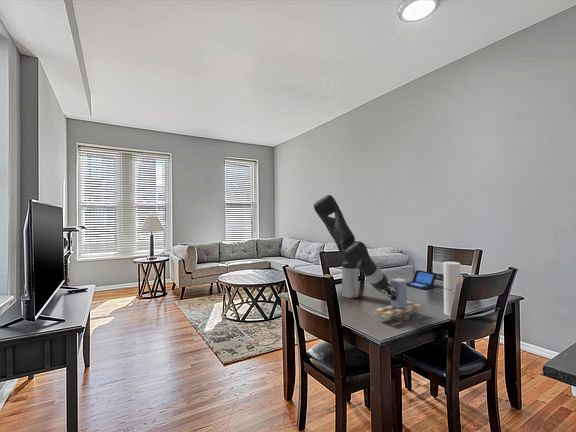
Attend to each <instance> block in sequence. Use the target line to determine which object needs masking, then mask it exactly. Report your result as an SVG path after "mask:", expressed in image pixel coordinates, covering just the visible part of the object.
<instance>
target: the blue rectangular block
mask: <svg viewBox="0 0 576 432" xmlns="http://www.w3.org/2000/svg"><path fill="white" fill-rule="evenodd" d="M389 280H390V285H391V287H392V288H397V291H396V293H395V296H396V300H395V301H392V300H391V299H390V305H391V306H394V307H395V309H398V308H403V307H407V301H408V300H407V297H408V296H407V295H408V294H407V290H408V289H407V286H406V283H407V279H404V278H400V277H397V278H396V277H395V278H391V279H389Z"/></svg>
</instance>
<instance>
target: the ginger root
mask: <svg viewBox="0 0 576 432" xmlns="http://www.w3.org/2000/svg"><path fill="white" fill-rule="evenodd" d="M420 309H422V305H421V304H418V303H415V302H411V301H410V300H409V301H408V300H407V307H403V308H398V309H395V307H394V306H391V304H390V305H385V306H382V307H378V308H374V309H373V310H372V313H373V314H375V315H378V316H380V317H383V318H384V319H385V318H386V319H387V318H389V319H392V320H395V321H397V322H399V323H400V322H404V321H405V322H406V321H407V320H410V312H413V311H417V310H420Z"/></svg>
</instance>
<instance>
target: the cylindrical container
mask: <svg viewBox="0 0 576 432" xmlns="http://www.w3.org/2000/svg"><path fill="white" fill-rule="evenodd" d="M459 275H460V276H461V263H460V262H458V261H444V262H443V314H444V315H445V316H449V317H451V316H450V315H451V310H452V304H453V299H454V295H455V290H456V285H457V280H458V276H459Z"/></svg>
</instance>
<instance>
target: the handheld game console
mask: <svg viewBox="0 0 576 432" xmlns="http://www.w3.org/2000/svg"><path fill="white" fill-rule="evenodd" d="M436 278H437V273H434V272H429V271H424V270H421V269H420V270H419V269H418V270H415V272H414V276H413V278H412V280H411V281H409V282H406V287H411V288H413V289H414V288H415V289H418V290H423V291H425V290H430V289H434V285H435V281H436Z"/></svg>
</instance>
